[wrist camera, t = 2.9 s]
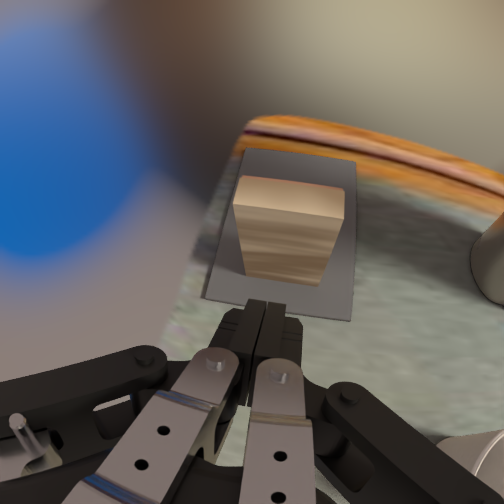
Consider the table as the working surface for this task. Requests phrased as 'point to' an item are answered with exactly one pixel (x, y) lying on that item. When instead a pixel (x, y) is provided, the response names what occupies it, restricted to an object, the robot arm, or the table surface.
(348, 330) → the table surface
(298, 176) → the rubber mat
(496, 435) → the dixie cup
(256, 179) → the maple block
